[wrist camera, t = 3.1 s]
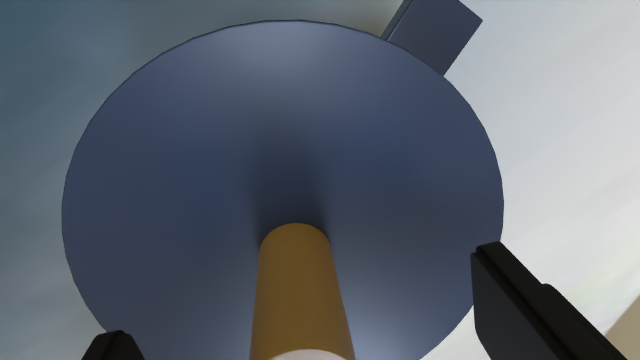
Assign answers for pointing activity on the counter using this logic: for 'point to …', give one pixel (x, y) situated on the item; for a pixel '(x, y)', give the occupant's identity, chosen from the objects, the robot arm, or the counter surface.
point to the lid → (281, 199)
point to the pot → (433, 30)
